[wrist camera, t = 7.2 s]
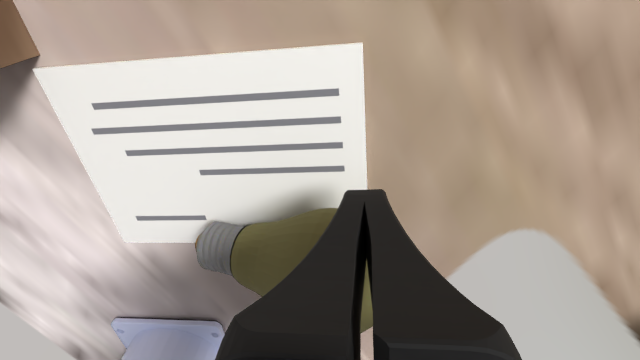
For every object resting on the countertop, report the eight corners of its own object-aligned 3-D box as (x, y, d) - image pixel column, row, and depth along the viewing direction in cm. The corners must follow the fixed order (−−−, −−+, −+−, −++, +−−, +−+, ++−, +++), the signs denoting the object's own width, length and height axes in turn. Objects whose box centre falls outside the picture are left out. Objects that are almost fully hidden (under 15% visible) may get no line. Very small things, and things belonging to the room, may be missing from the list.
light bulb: (219, 294, 20) (395, 340, 17) (145, 305, 15) (377, 373, 12) (240, 199, 21) (410, 224, 18) (177, 178, 16) (401, 209, 13)
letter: (369, 241, 19) (368, 243, 19) (126, 240, 21) (124, 243, 21) (362, 42, 13) (362, 43, 13) (35, 67, 15) (32, 69, 15)
